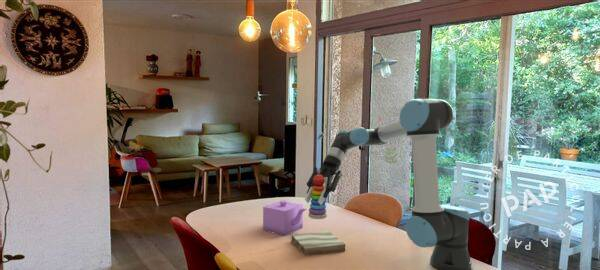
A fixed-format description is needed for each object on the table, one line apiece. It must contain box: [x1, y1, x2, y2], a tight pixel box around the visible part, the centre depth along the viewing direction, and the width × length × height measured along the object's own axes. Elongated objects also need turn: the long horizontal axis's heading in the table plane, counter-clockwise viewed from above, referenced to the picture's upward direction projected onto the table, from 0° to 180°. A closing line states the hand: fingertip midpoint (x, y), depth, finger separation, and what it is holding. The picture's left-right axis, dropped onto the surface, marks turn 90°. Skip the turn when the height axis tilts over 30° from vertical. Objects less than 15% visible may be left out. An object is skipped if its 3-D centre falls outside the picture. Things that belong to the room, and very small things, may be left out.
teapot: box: [262, 200, 308, 236], centre depth 208 cm, size 15×25×14 cm, turn 56°
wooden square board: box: [291, 230, 346, 256], centre depth 186 cm, size 18×18×3 cm
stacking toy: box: [308, 173, 328, 220], centre depth 185 cm, size 8×8×19 cm
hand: (313, 202), depth 182 cm, fingers closed on stacking toy, 6 cm apart
